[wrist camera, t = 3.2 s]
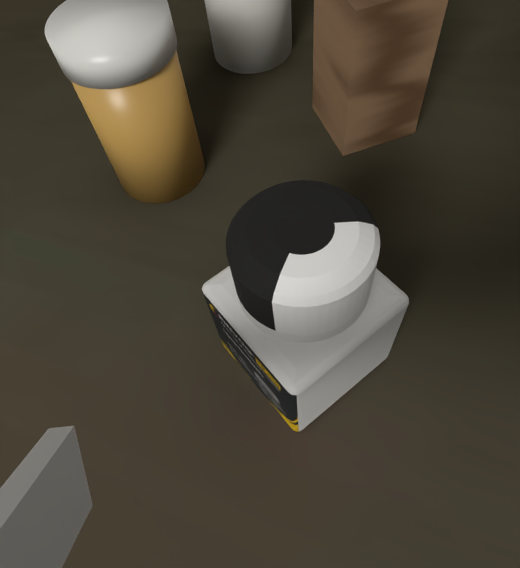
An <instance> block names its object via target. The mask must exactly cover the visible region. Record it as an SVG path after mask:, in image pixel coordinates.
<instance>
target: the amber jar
mask: <svg viewBox="0 0 520 568" xmlns="http://www.w3.org/2000/svg"><path fill="white" fill-rule="evenodd" d="M45 36H46V39H47V41H48V43H49V45H50V47H51V49H52V51H53V53H54V55H55V57H56V59H57V61H58V63H59V65H60V67H61V69H62V71H63V73H64V75H65V76H66V77H67V78H68V79H69V80H70V81H71V82H72V84H73V86H74V88H75V90H76V92H77V94H78V96H79V98H80V100H81V102H82V104H83V106H84V109H85V111H86V113H87V115H88V117H89V119H90V121H91V123H92V125H93V127H94V129H95V131H96V133H97V135H98V137H99V139H100V141H101V143H102V146H103V148H104V150H105V152H106V154H107V156H108V158H109V160H110V162H111V164H112V166H113V168H114V170H115V172H116V174H117V176H118V178H119V180H120V183H121V185H122V187H123V188H124V190H125V191H126V193H127V194H128V195H130V196H131V197H132V198H134V199H136V200H138V201H141V202H145V203H165V202H169V201H173V200H176V199H178V198H180V197H182V196H184V195H186V194H187V193H189V192H190V191H191V190H193V189H194V188H195V187H196V186H197V184H198V183H199V182H200V180H201V178H202V176H203V174H204V170H205V163H204V158H203V154H202V150H201V146H200V142H199V138H198V134H197V131H196V127H195V123H194V119H193V115H192V111H191V107H190V103H189V99H188V95H187V91H186V87H185V83H184V79H183V75H182V71H181V67H180V63H179V59H178V56H177V52H176V48H177V38H176V34H175V30H174V26H173V22H172V18H171V14H170V10H169V6H168V2H167V0H66V1H65V2H63V3H62V4H61V5H60V6H58V7H57V8H56V9H55V10H54V11H53V13H52V14H51V15H50V17H49V18H48V20H47V22H46V25H45Z"/></svg>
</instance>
